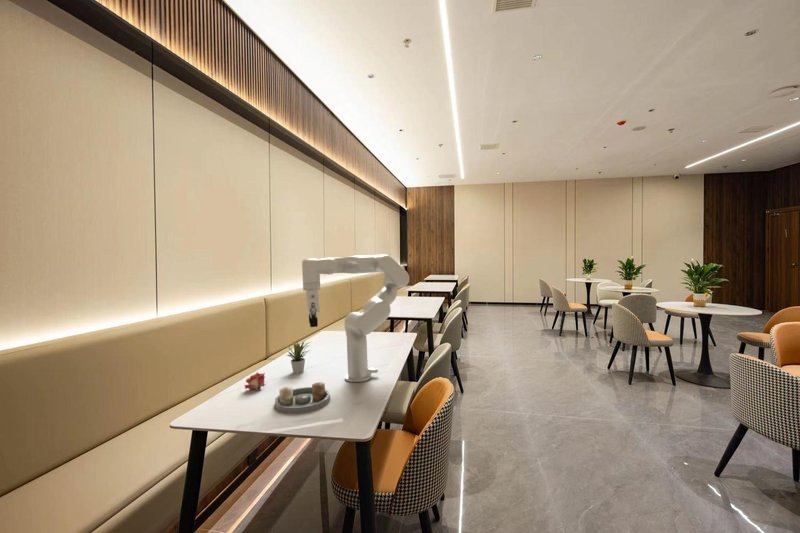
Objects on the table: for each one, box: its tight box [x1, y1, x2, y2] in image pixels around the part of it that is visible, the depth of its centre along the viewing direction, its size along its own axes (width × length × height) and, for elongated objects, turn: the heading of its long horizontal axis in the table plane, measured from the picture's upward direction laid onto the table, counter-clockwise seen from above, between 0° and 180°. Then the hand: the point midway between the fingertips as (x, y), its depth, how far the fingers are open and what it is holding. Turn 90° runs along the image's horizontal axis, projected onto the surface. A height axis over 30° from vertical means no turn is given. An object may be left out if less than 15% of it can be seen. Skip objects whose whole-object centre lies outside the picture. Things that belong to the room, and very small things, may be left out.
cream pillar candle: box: [278, 386, 294, 406], centre depth 141 cm, size 5×5×6 cm
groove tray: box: [274, 386, 331, 414], centre depth 143 cm, size 21×21×3 cm
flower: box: [244, 372, 267, 391], centre depth 159 cm, size 10×9×8 cm
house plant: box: [284, 340, 311, 374], centre depth 184 cm, size 14×14×16 cm
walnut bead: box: [311, 381, 326, 402], centre depth 144 cm, size 5×5×6 cm
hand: (313, 324), depth 160 cm, fingers open, 9 cm apart
